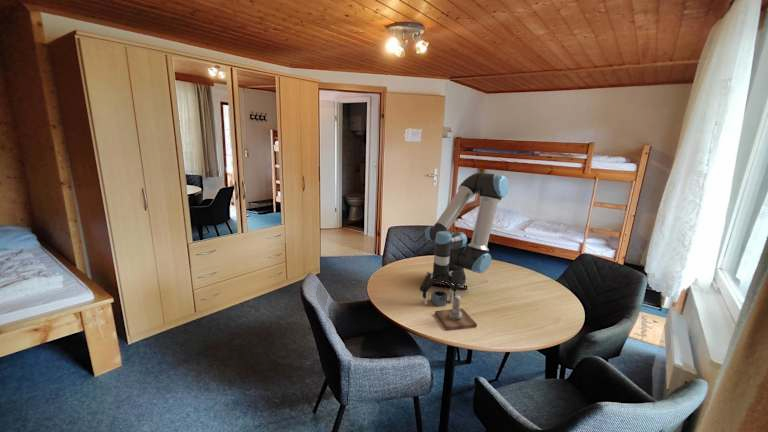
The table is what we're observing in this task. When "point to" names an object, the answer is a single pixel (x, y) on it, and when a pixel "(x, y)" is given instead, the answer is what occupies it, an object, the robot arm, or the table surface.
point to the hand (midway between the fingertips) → (438, 302)
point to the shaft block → (455, 317)
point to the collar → (439, 298)
